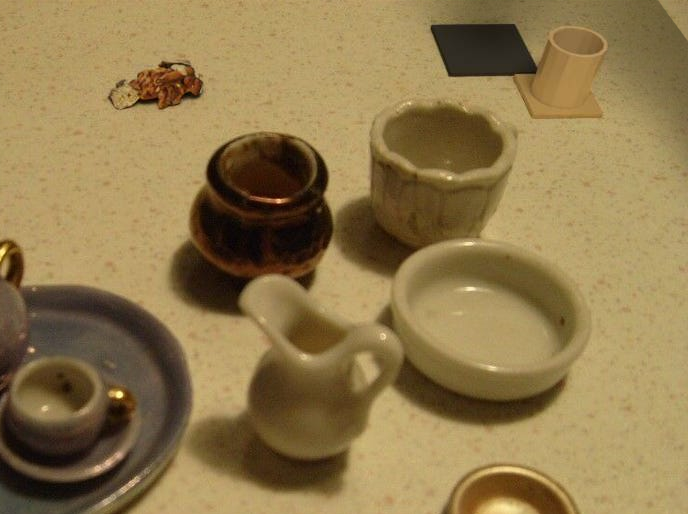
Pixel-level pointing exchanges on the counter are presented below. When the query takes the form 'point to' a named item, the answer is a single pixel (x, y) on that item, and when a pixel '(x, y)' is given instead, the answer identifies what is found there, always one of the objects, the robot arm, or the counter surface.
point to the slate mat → (483, 50)
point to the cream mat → (544, 111)
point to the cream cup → (568, 67)
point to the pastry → (158, 85)
